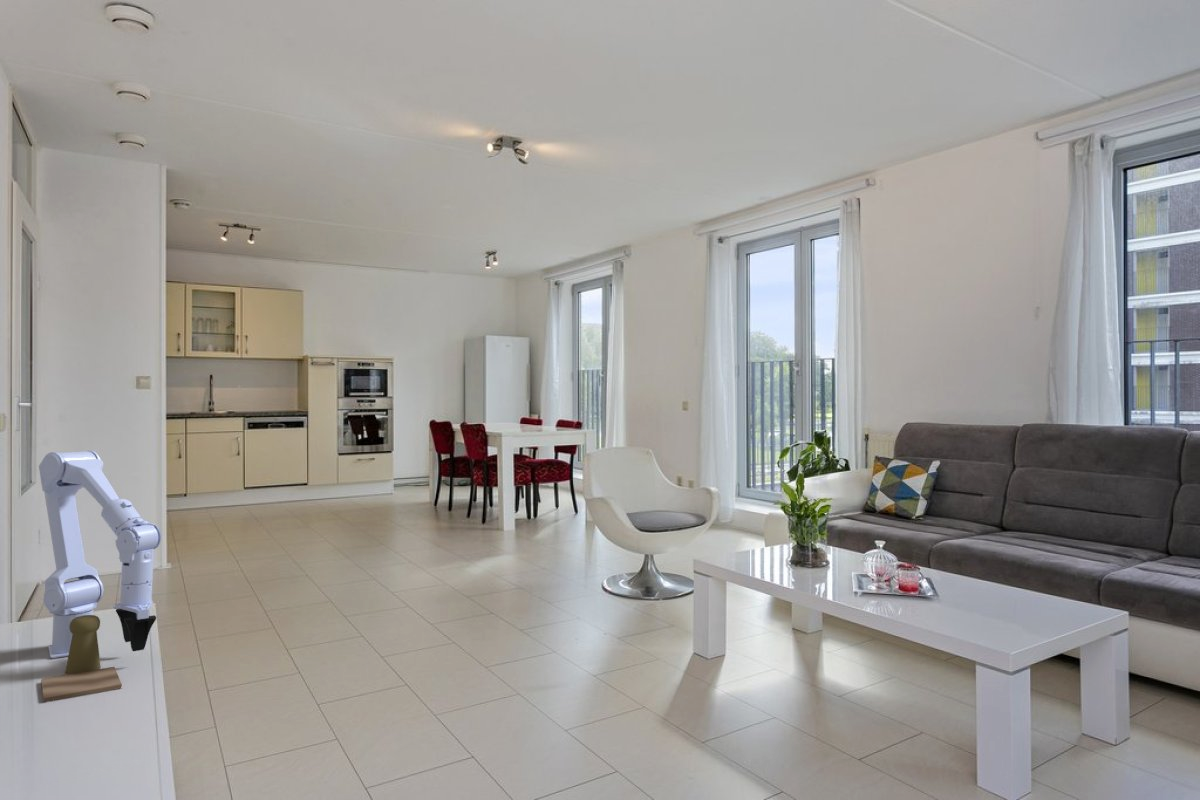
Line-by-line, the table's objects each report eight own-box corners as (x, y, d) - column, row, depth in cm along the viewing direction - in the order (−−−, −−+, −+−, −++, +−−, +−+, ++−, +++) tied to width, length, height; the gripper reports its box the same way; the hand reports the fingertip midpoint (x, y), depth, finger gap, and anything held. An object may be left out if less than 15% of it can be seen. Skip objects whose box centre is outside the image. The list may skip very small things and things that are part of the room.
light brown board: (41, 682, 143) (41, 678, 143) (114, 670, 151) (114, 666, 151) (43, 702, 134) (43, 698, 134) (121, 688, 142) (121, 684, 142)
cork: (82, 676, 147) (84, 621, 147) (57, 673, 148) (59, 618, 149) (108, 666, 153) (110, 613, 153) (83, 663, 154) (86, 611, 155)
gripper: (108, 577, 159) (106, 640, 159) (121, 591, 149) (118, 658, 148) (146, 573, 164) (143, 634, 164) (161, 586, 153) (158, 651, 153)
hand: (134, 645), depth 156 cm, fingers open, 7 cm apart
